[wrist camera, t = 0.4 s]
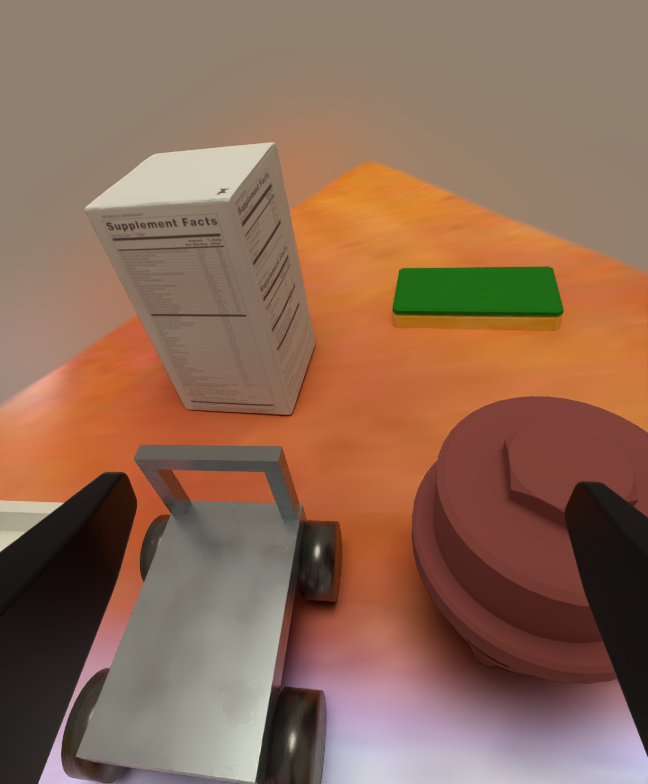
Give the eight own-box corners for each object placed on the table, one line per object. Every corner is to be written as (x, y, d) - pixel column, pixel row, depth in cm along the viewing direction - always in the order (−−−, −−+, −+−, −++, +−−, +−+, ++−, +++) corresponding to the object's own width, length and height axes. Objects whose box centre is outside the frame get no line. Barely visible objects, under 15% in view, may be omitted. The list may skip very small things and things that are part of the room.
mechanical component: (648, 587, 23) (575, 786, 18) (467, 490, 29) (374, 624, 24) (789, 430, 15) (722, 724, 10) (493, 333, 20) (354, 493, 15)
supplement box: (318, 342, 41) (282, 138, 30) (293, 418, 35) (236, 196, 23) (220, 340, 43) (151, 149, 32) (181, 411, 37) (77, 205, 25)
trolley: (318, 817, 19) (266, 794, 12) (90, 782, 20) (-70, 744, 14) (343, 543, 27) (321, 436, 20) (180, 535, 29) (109, 434, 22)
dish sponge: (400, 288, 47) (399, 267, 45) (547, 288, 43) (552, 265, 42) (392, 331, 42) (392, 309, 40) (557, 335, 38) (564, 311, 37)
